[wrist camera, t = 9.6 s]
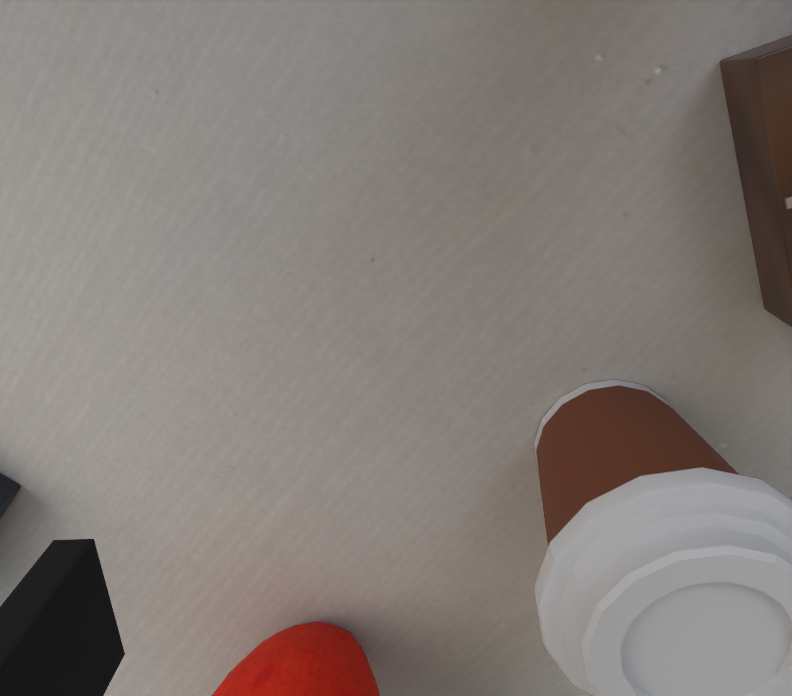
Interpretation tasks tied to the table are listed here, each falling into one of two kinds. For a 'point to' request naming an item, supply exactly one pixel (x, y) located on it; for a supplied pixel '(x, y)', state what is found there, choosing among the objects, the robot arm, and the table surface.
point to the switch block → (7, 492)
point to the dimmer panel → (765, 160)
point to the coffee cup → (658, 554)
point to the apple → (303, 665)
